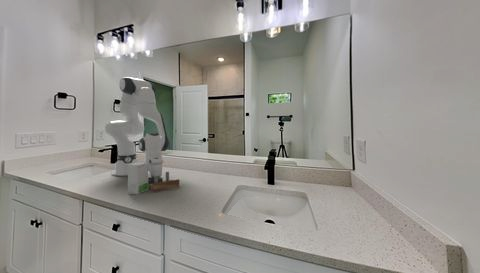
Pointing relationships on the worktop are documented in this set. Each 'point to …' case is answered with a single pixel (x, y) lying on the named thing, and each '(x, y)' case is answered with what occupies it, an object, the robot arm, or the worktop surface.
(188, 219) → the worktop surface
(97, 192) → the worktop surface
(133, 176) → the skincare box
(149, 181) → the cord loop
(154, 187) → the hook shelf
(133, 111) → the robot arm
